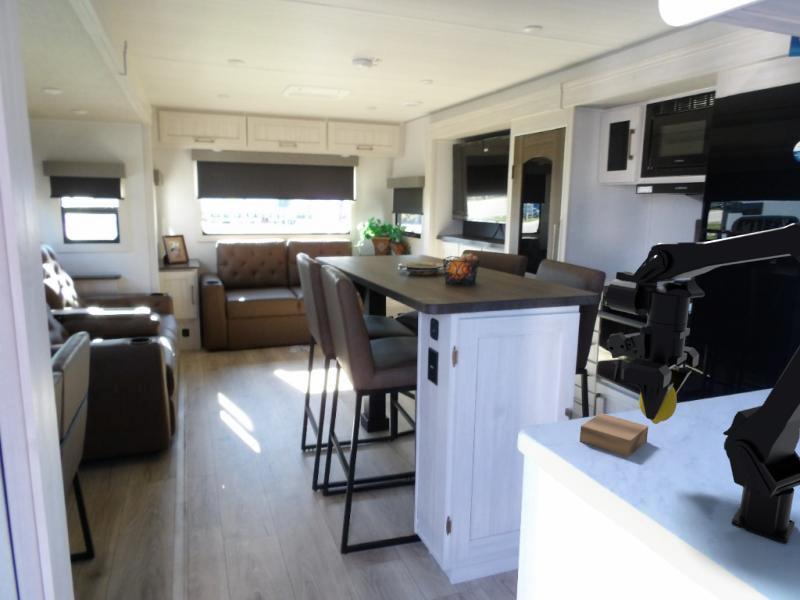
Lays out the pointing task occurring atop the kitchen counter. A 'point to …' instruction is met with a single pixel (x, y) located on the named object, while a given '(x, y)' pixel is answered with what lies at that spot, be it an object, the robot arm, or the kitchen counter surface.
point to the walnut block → (614, 434)
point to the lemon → (663, 407)
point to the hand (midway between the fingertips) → (656, 414)
